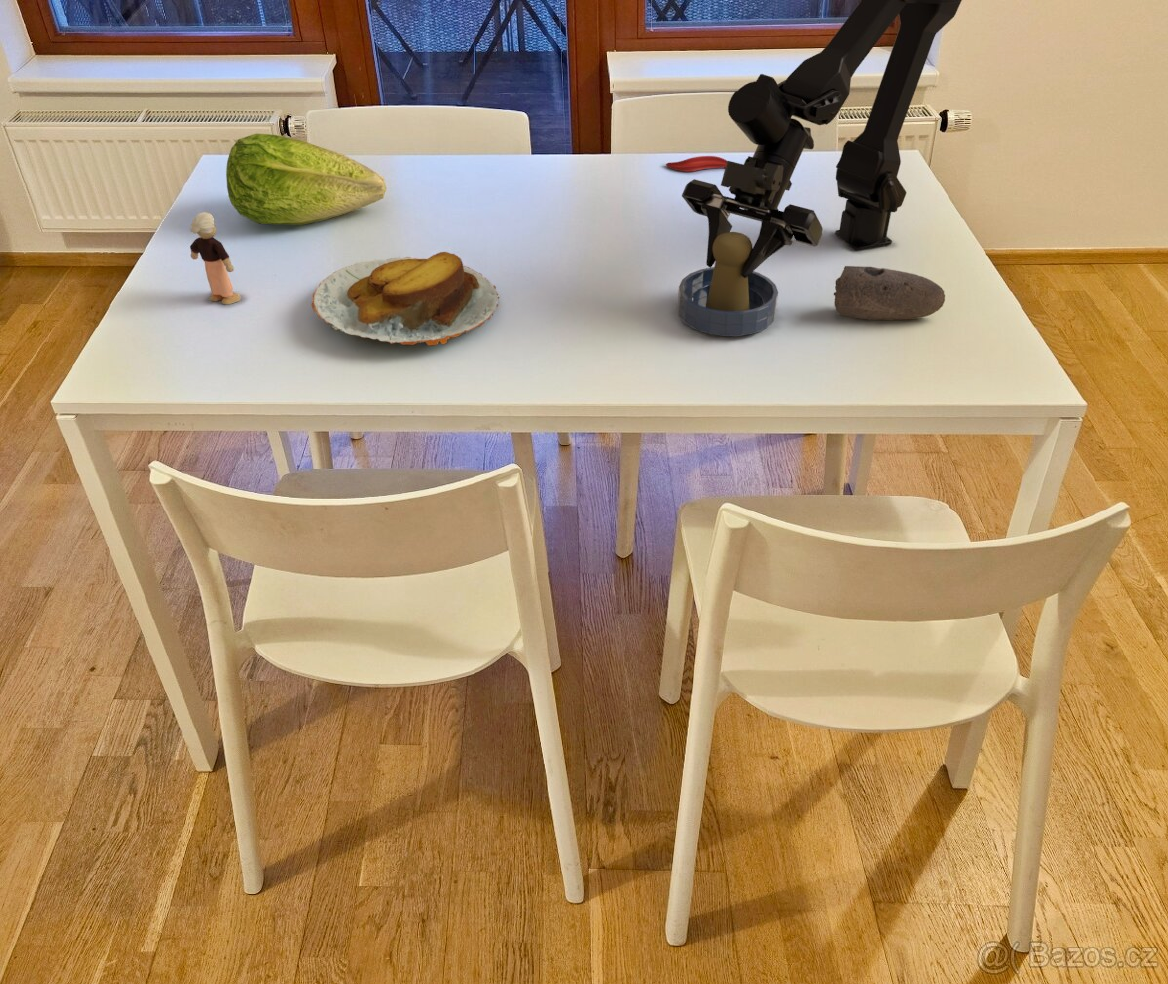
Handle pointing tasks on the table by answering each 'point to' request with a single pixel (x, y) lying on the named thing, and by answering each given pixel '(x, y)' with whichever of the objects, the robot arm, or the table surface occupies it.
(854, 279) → the perforated stone tool
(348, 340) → the table surface
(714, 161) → the cayenne pepper
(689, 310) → the bowl
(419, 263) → the food on plate
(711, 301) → the yellow pawn piece
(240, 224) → the table surface
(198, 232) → the grandmother figurine
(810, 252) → the table surface
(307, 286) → the table surface
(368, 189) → the lettuce
